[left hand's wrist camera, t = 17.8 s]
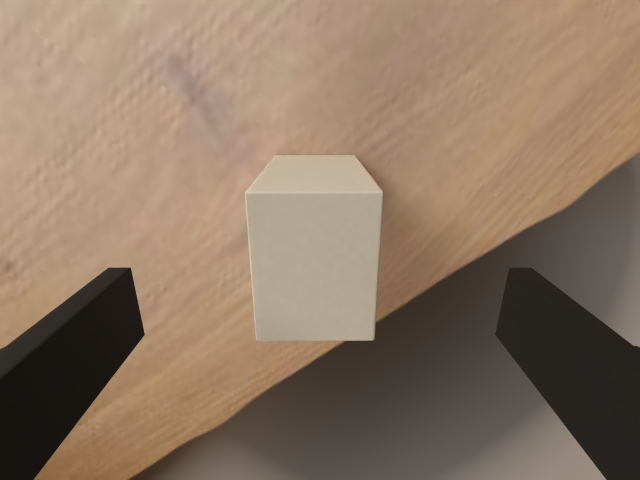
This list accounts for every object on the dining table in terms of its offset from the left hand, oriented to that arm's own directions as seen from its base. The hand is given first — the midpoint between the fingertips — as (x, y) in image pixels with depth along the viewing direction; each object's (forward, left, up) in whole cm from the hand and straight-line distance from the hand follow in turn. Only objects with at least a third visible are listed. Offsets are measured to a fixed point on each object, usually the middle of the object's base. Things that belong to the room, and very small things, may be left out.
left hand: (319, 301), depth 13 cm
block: (0, 0, -13) cm, 13 cm away
